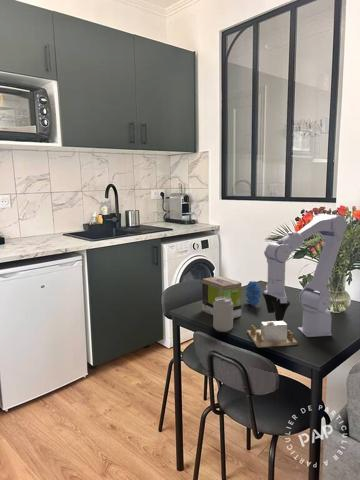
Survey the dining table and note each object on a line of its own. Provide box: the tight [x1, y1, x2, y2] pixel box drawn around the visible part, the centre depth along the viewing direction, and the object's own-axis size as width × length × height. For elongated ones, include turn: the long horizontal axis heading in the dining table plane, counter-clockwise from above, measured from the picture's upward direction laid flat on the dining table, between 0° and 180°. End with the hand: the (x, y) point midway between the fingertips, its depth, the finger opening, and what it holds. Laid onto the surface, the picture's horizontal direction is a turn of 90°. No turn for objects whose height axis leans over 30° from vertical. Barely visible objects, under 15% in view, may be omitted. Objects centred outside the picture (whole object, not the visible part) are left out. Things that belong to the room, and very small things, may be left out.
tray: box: [246, 324, 298, 348], centre depth 127 cm, size 14×12×4 cm
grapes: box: [244, 280, 263, 307], centre depth 160 cm, size 12×7×12 cm, turn 16°
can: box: [212, 297, 234, 333], centre depth 136 cm, size 8×8×12 cm
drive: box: [260, 320, 288, 342], centre depth 124 cm, size 8×4×6 cm, turn 96°
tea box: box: [202, 275, 242, 319], centre depth 151 cm, size 15×10×15 cm
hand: (275, 316), depth 123 cm, fingers open, 7 cm apart
